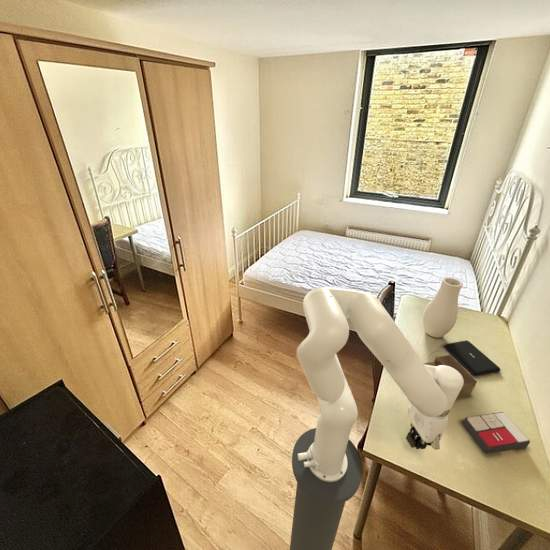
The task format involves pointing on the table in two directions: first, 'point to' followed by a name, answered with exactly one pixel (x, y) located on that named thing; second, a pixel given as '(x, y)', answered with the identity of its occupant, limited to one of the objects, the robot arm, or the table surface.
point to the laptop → (472, 358)
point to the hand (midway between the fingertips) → (416, 441)
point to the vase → (442, 308)
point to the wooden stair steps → (468, 379)
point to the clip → (413, 438)
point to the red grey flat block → (495, 433)
